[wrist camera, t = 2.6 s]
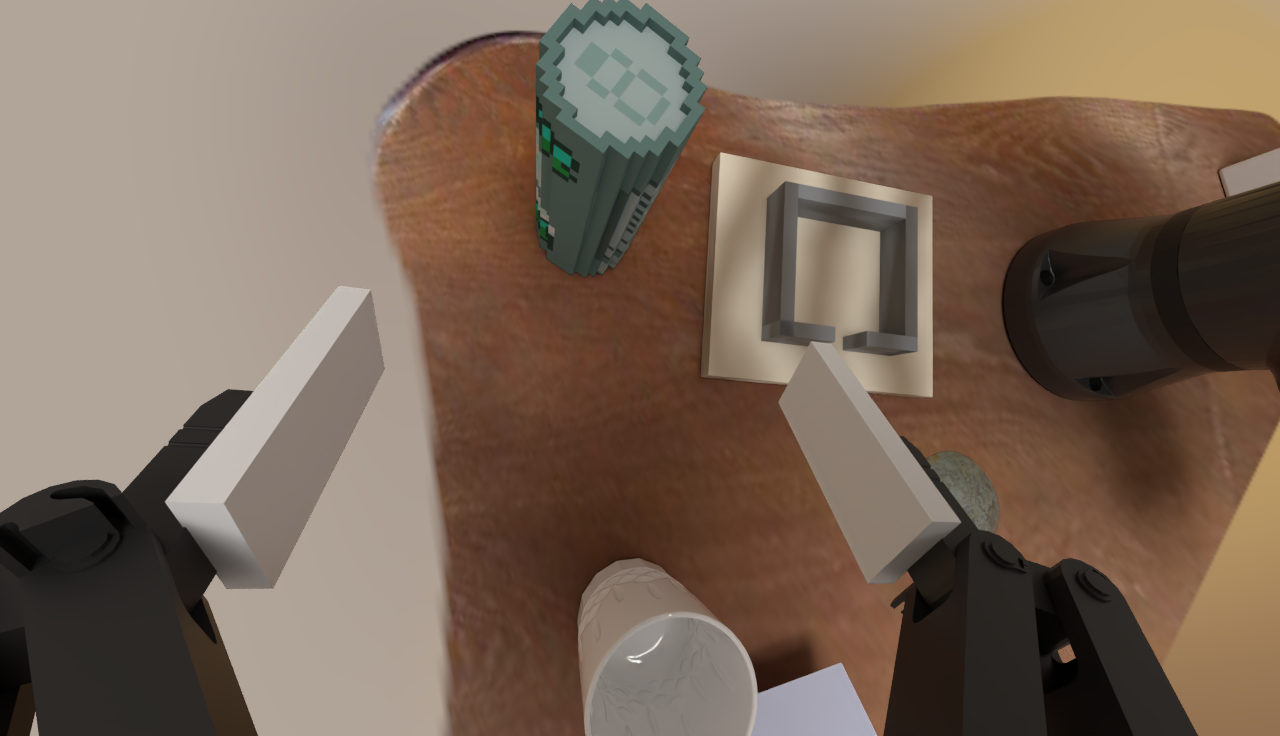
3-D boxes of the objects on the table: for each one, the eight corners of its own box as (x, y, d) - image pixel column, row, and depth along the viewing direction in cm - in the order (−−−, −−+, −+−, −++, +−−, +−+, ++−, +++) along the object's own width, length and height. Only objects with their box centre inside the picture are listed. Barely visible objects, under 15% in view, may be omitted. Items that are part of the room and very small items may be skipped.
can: (571, 172, 32) (601, -33, 17) (643, 225, 32) (731, 71, 18) (520, 240, 30) (505, 80, 16) (596, 293, 31) (649, 187, 17)
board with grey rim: (917, 204, 38) (960, 180, 34) (916, 397, 36) (962, 395, 32) (712, 163, 34) (735, 131, 30) (700, 377, 32) (723, 371, 28)
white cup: (554, 572, 29) (563, 653, 19) (669, 531, 31) (731, 585, 21) (586, 696, 29) (612, 842, 19) (701, 647, 30) (778, 756, 21)
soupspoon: (952, 436, 38) (887, 464, 37) (989, 437, 35) (919, 469, 33) (1055, 697, 37) (991, 736, 35) (1104, 725, 33) (1035, 769, 32)
